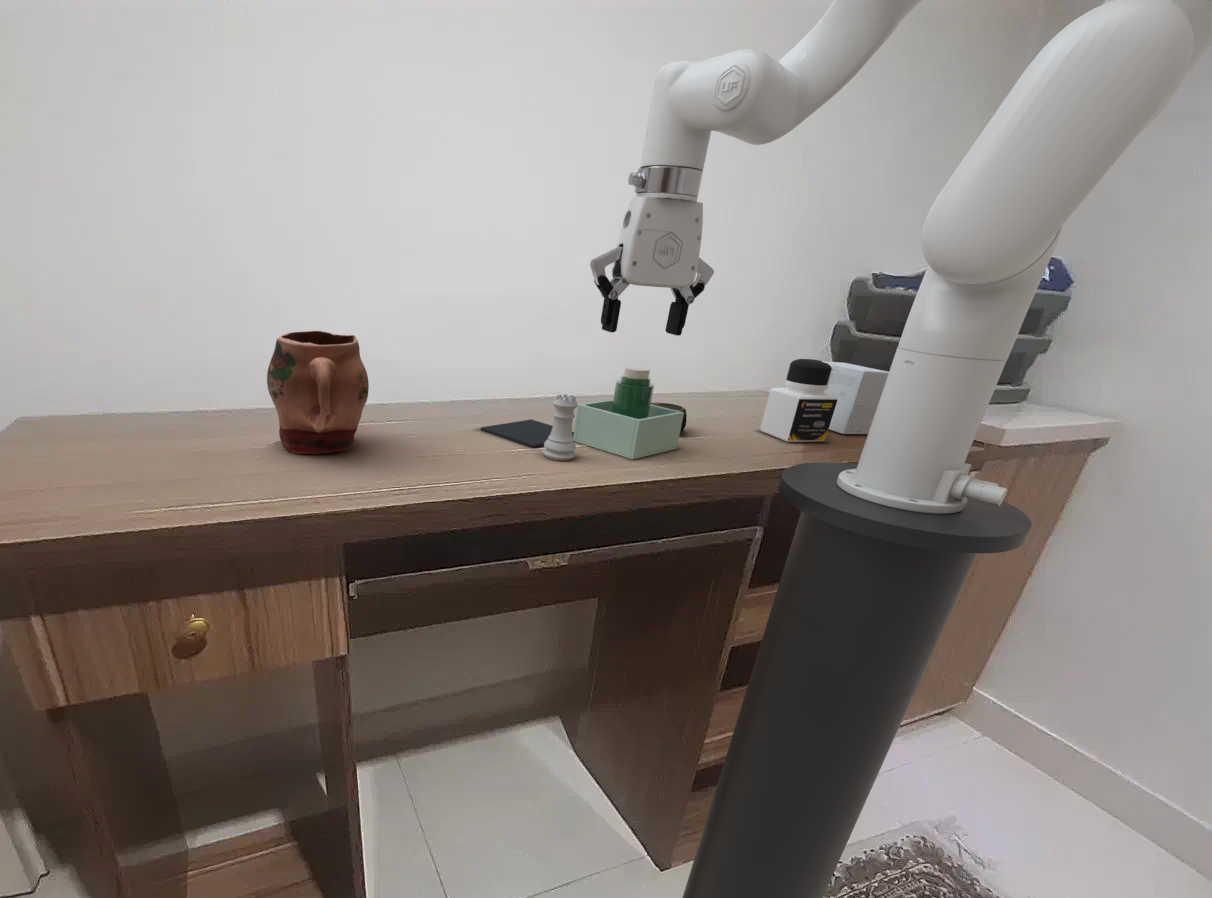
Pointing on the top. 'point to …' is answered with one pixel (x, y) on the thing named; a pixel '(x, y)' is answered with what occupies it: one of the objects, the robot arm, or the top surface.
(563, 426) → the rook chess piece
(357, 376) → the brown clay mug
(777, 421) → the medicine bottle
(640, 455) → the case
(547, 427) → the mat
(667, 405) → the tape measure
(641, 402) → the green bottle
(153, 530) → the top surface
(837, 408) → the cosmetics box
